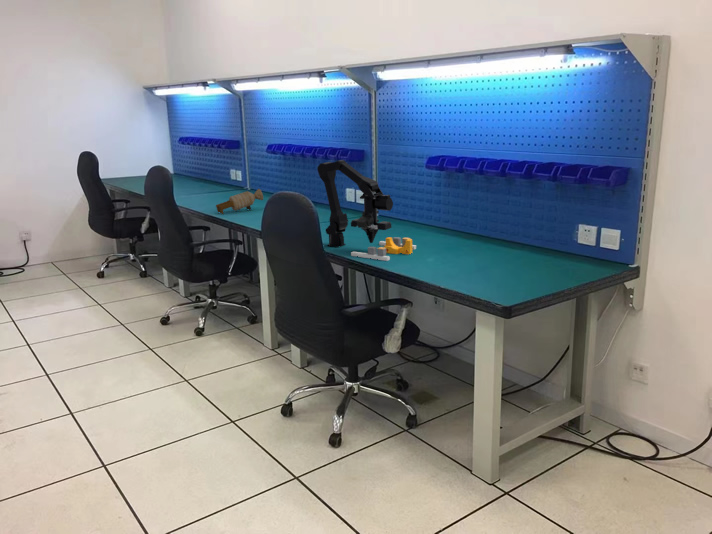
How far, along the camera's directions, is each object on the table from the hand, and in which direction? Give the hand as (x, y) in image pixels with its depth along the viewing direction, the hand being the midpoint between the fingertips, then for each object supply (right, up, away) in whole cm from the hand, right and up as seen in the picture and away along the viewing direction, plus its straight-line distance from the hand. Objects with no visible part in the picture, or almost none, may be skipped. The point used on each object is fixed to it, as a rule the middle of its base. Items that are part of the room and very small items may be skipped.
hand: (371, 242), depth 267 cm
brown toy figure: (-82, +25, +115) cm, 143 cm away
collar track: (+6, -4, -3) cm, 8 cm away
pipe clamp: (+12, -5, -5) cm, 14 cm away
